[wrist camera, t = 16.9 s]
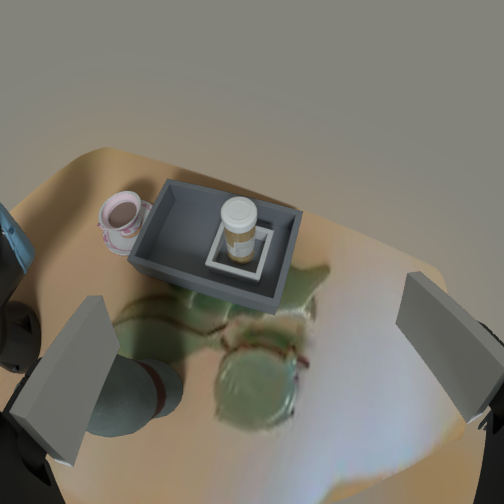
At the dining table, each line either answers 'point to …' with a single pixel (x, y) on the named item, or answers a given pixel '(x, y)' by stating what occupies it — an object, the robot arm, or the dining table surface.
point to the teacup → (122, 220)
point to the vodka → (134, 396)
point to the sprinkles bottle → (239, 228)
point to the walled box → (215, 246)
